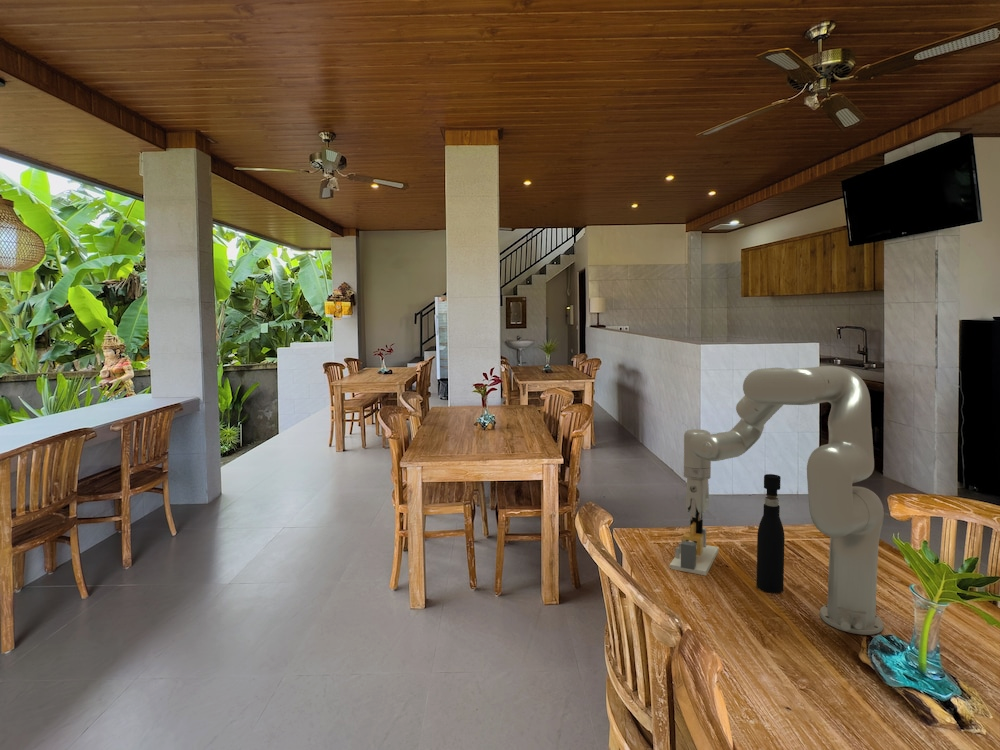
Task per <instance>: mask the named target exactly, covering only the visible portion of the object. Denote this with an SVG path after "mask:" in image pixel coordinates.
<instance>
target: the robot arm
mask: <svg viewBox="0 0 1000 750" xmlns="http://www.w3.org/2000/svg"><path fill="white" fill-rule="evenodd" d="M742 390H743V391H742V392H743V394H744V396H743V397H742V398H741V399H740V400H739V401H738V402H737V403H736V406H735V409H736V410H735V411H736V413H737V415H738V416H739V418H740V420H739V421H738V422H737V423H736V425H734V426H733V427H732V429H730V430H729V431H724V432H723V431H722V432H718V433H710V432H709V431H708V430H704V429H698V428H695V429H688V430H686V431H685V432H684V434H683V477H684V478H686V490H685V491H686V493H685V497H686V499H685V508H686V511H687V512H688V513H689V515H690V516H689V517H690V520H689V522H690V523H689V527H690V526H691V524H692V523H693V522H696V533H699V534H701V533H702V531H703V528H704V527H703V522H704V520H703V514H705V512H706V511H707V509H708V508H709V506H710V493H709V492H710V489H709V487H710V486H709V485H710V484H709V479H711V478H712V477H711V475H712V472H711V470H712V469H711V466H712V465H711V464H712V462H720V461H724V460H727V459H728V460H729V459H733V458H738V457H740V456H742V455H744V454H745V453H746V452H747V451H749V449H751V447H753V446H754V445H755V444H756V442H758V440H759V439H760V438H761V436H762V434H763V431H764V428H765V425H766V423H767V422H768V421H769V420H770V419H771V418H772V417H773V416H774V415H775V414H776V413H777V412H778V411H779V410H780V409H781V408H782V407H783V406H785V405H787V406H809V405H816V404H824V403H829V404H830V405H831V406H830V407H831V408H830V411H829V415H828V419H827V420H828V421H827V426H828V428H827V429H828V443H827V444H821V445H820V446H818V447H816V448H815V449H814V450H813V451H812V452H811V453H810V454H809V457H808V459H807V465H806V478H807V479H806V480H807V495H808V496H807V497H808V507H809V515H810V519H811V521H812V523H813V526H815V528H816V529H817V530H818V531H819V532H820V533H821V534H823V535H824V536H827V537H829V538H830V539H829V540H830V541H829V552H828V575H827V576H828V577H827V578H828V581H827V583H828V584H827V604H825V605H823V606H821V607H820V608H819V617H820V618H821V620H823V622H824V623H826V624H827V625H829V626H830V627H833V628H835V629H837V630H840V631H843V632H847V633H850V634H855V635H862V636H863V635H864V636H865V635H866V636H867V635H868V636H870V635H871V636H872V635H876V634H879V633H881V632H882V631H883V630H884V622H883V620H882V619H881V617H879V616H878V615H877V614H876V613H877V612H876V611H877V587H878V562H879V548H880V547H879V544H880V536H881V532H882V528H883V524H884V523H883V522H884V515H885V513H884V511H885V510H884V505H883V502H882V500H881V499H880V497H879V496H878V495H877V494H876V493H875V492H874V491H872V490H871V489H869V488H867V487H864V486H853V484H855V483H858V482H861V481H864V480H867V479H868V478H869V477H870V476H872V474H873V472H874V470H875V458H874V457H875V456H874V444H873V443H874V442H873V441H874V440H873V430H872V412H871V410H872V409H871V406H872V405H871V396H870V391H869V389H868V387H867V384H866V383H865V381H864V380H863V379H862V378H861V376H860V375H858V374H857V373H855V372H854V371H852V370H851V369H848V368H844V367H842V366H835V365H822V366H821V365H819V366H815V367H812V366H811V367H803V368H802V367H801V368H784V367H767V368H766V367H765V368H757V369H755V370H753V371H751V372H749V373H748V374H747V375H746V377H745V378H744V380H743V385H742Z"/></svg>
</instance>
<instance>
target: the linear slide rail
mask: <svg viewBox="0 0 1000 750" xmlns="http://www.w3.org/2000/svg"><path fill="white" fill-rule="evenodd" d="M701 534H703V552H702V554H701V556H699V555H696V550H697V541H691V540H689V541H683V537H682V538H681V542H678V546H675V556H674V558H673V559H672V560H671V562H670V564H669V569H670V568H671V569H670V570H674V569H675V571H681V572H684V573H685V572H686V573H690V574H696V575H702V576H705V577H706V576H707V575H708V573H709V571H710V569H711V568H712V565H713V563H714V561H715V559H716V557H717V555H718V554H719V550H720V547H719V546H713V545H708V544H707V527H703V531H702V533H701Z"/></svg>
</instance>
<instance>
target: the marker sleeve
mask: <svg viewBox="0 0 1000 750" xmlns="http://www.w3.org/2000/svg"><path fill="white" fill-rule="evenodd" d="M689 527H690V529H689V531H685V532H684V533H683V534H682V538H683V541H697V550H696V555H699V556H701V554H702V552H703V534H699V533H696V522H693V523H692V524H691V526H690V525H689Z"/></svg>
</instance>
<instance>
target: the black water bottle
mask: <svg viewBox="0 0 1000 750" xmlns="http://www.w3.org/2000/svg"><path fill="white" fill-rule="evenodd" d="M781 479H782V478H781V476H780V475H779V474H772V473H769V474H768V473H767V474H766V473H765V474H764V476H763V488H764V489H765V490H766V493H765V495H766V496H765V498H764V504H763V514H762V517H761V520H760V522H759V526H758V529H757V537H756V538H757V539H756V540H757V541H756V543H757V544H756V588H757V589H758V590H760V591H762V592H764V593H768V594H780V593H783V591H784V582H785V581H784V580H785V579H784V578H785V577H784V576H785V575H784V573H785V540H786V539H785V538H786V537H785V530H784V526H783V524H782V523H783V522H782V520H781V517H780V505H779V501H780V500H779V498H778V491H780V490H781Z"/></svg>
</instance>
